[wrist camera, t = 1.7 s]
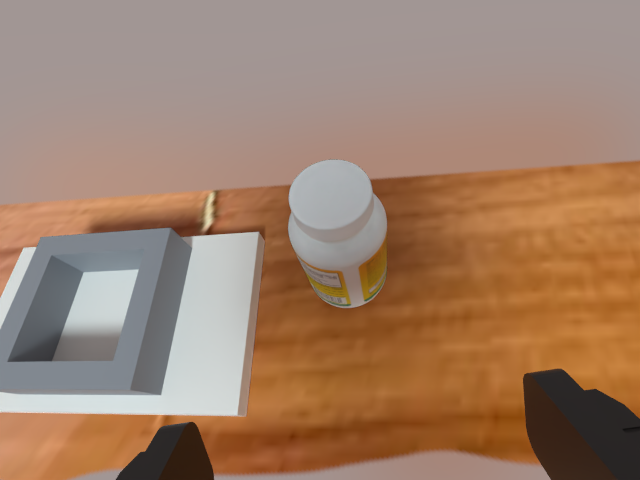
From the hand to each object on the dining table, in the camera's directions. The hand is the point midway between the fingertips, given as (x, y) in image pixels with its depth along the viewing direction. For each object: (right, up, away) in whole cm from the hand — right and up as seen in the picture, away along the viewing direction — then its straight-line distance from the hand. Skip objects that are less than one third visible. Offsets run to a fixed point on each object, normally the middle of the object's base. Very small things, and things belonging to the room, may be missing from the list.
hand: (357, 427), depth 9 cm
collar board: (-15, -1, +18) cm, 23 cm away
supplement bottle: (+1, +2, +17) cm, 17 cm away
